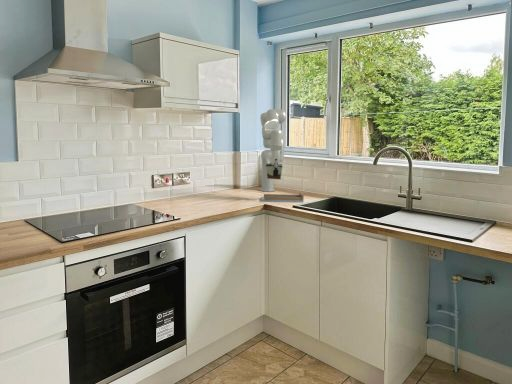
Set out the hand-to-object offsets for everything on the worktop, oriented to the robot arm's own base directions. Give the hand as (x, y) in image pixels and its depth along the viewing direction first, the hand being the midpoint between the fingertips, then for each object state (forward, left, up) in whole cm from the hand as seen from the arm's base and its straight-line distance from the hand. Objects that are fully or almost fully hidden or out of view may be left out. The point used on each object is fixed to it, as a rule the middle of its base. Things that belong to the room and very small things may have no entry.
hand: (275, 175), depth 280 cm
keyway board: (0, +5, -17) cm, 18 cm away
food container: (-1, 0, -3) cm, 3 cm away
